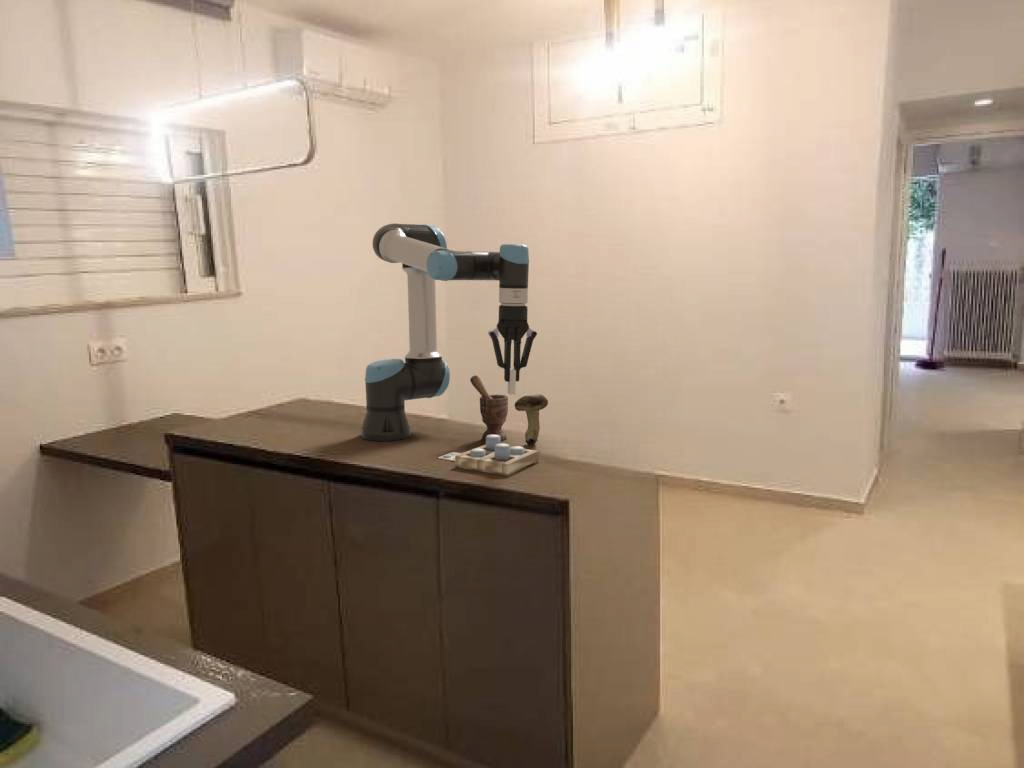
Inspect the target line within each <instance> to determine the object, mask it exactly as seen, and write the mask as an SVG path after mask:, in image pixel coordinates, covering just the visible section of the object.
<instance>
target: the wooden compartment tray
mask: <svg viewBox="0 0 1024 768" xmlns="http://www.w3.org/2000/svg"><path fill="white" fill-rule="evenodd" d="M511 447H512V446H510V448H511ZM476 448H480V449H484V450H485V451H486V456H484V457H482V458H479V457H472V456H470V450H467V451H464V452H461V453H462V454H459V455H456V456H455V461H454V462H455V463H454V464H455V465H454V466H455V468H458V469H465V470H471V471H476V472H483V473H488V474H494V475H501V476H504V477H506V476H507V477H509V476H510V475H513V474H515V473H517V471H518V472H520V471H522V470H524V469H526V468H528V467H527V466H529V465H531V464H533V463H535V462H537V461H540V459H539V458H540V456H539V455H540V451H539V450H533V449H528V448H525V454H523V455H514V454H510V460H508V461H497V460H495V459H494V457H495V451H488V450H486V444H484V445H481V446H478V447H475V448H474V449H476ZM537 463H538V462H537ZM535 464H536V463H535ZM533 465H534V464H533ZM531 466H532V465H531ZM525 467H526V468H525ZM529 467H530V466H529ZM523 468H524V469H523ZM521 469H522V470H521ZM519 470H520V471H519Z"/></svg>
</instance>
